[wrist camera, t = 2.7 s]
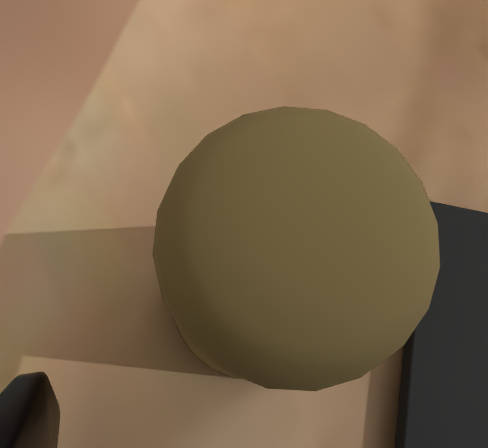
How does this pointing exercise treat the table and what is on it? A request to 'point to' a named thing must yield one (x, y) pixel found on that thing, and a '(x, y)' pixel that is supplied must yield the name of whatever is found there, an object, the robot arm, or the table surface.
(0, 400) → the robot arm
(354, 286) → the cork
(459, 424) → the rubber mat
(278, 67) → the table surface
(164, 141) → the table surface
